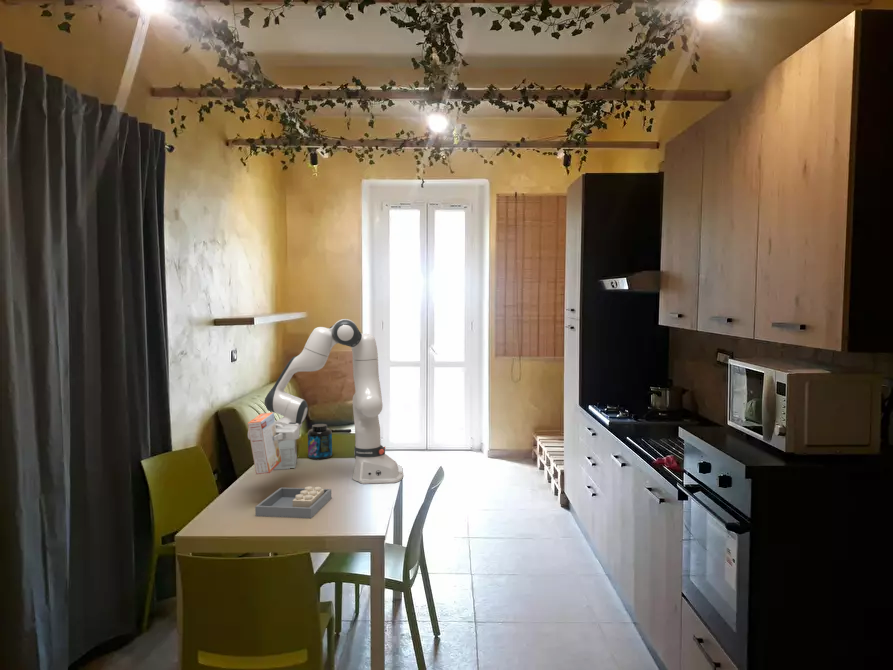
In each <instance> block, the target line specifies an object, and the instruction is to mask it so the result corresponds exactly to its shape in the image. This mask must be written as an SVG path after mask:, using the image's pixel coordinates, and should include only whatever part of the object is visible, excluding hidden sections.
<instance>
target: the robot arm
mask: <svg viewBox="0 0 893 670" xmlns="http://www.w3.org/2000/svg"><path fill="white" fill-rule="evenodd" d="M337 344H339V345H342V346H347V347H350V348H351V352H352V370H353V371H352V373H353V374H352V375H353V381H354V382H353V383H354V389H355V392H354V394H353V396H352V412H353V413H352V414H353V421H354V434H355V435H354V436H355V437H354V438H355V440H354V442H355V446H354V450H353V451H354V452H353V453H354V454H353V455H354V468H353V469H354V471H353V474H352V480H353V481H356V482H359V484H363V485H364V484H365V485H366V484H393V483H394V484H395V483H398V482H400V481H401V480H403V478H404V476H405V475H404V472H402V471H400V470H399V467H398V466H399V465H398V463H397V461H396V460H395V459H393V458H392V457H390V456H389V455H387V454H386V446H383V445H381V443H382V442H381V425H380V420H379V415H380V414H381V412H382V410H383V399H382V389H381V381H380V375H379V374H380V373H379V356H378V355H379V354H378V347H377V341H376V338H375V337H374V335H372V334H369V333H361V331H360V330H359V328H358V326H357V324H356V323H355V322H354V321H353V320H351V319H348V318H344V319H343V318H342V319H339V320H337V321H336V322H335V323H334V324H333V325H331V326H330V327H329V328H328V327H325V326H318V327H315V328H314V329H313V330H312V332H311V333H310V335H309V336H308V338H307V341H306V342H305V344H304V347H303V349H302V351H301V352H300V353H299V354H298V355H297V356H296V355H295V356H292V358H291V359H290V360H289V361H288V362H287V364H286V366H285V367H284V369H283V370H282V372H281V373H280V375H279V376H278V378H277V380H276V381H275V383H274V385H273V386H272V387H271V388H270V390H269V391H268V393H267V395H266V396H265V398H264V402H263V403H264V407H265V408H266V410H267V411H268V412H270V413H274V414H278V415H280V416H282V417H281V418H278V419H277V420H275V424H276V430H277V431H276V433H277V435H274V436H272V439H273V441H276V440H278V442H281V441H285V440H296V441H297V440H298V439H300V429H301V428H302V425H303V423H304V422H305V420H306V418H307V416H308V411H309V406H308V403H307V401H306V399H303V398H300V397H299V396H296V395H292V394H291V393H288V392H286V391H285V389H286V387H287V385H288V384H289V383H290V381H291V379H292V378H293V376H294V374H296V373H299V372H318V371H319V370H321V369H323V368H324V367H325V365H326V363H327V361H328V359H329V356H330V354H331V351H332V350H333V349H332V348H333V347H334V346H335V345H337ZM247 439H248V440H250V435H249V430H248V431H247Z"/></svg>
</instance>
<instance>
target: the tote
mask: <svg viewBox="0 0 893 670" xmlns="http://www.w3.org/2000/svg"><path fill="white" fill-rule="evenodd" d="M323 489H324V494H323V495H322V496H321V497H320V498H319V499H318V500H317V501H316V502H315V503H314V504H312V505H311V506H310V507H309V508H307V507H293V500H294V499H295V498H296V495H298V494H300V491H302V490H305V487H304V488H303V487H279V488H278V489H277V490H275V491H274V492H272V493H271V494H270V495H268V496H267V497H266V498H265V499H263V500H262V501H260V502H259V503H258V504H257V505H255V507H254V509H255V510H254V511H255V517H265V518H266V517H268V518H288V519H289V518H292V519H293V518H294V519H313V517H314V516H315V515H316V514H318V512H319V511H320V510H321V509H322V508H323V507H325V505H326V504H327V503H328V502H329V501H330V500H331V499H332V489H331V488H323Z"/></svg>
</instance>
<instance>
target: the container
mask: <svg viewBox="0 0 893 670" xmlns="http://www.w3.org/2000/svg"><path fill="white" fill-rule="evenodd" d="M332 435H333V432H332V430H331V429H330V428H328V424H326V423H315V424H312V425H311V429H309V430H308V432H307V456H308V458H309V459H311V460H317V459H319V460H325V459H326V460H327V459H329V458H331V457H332V456H333V436H332Z"/></svg>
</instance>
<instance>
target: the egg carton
mask: <svg viewBox="0 0 893 670" xmlns="http://www.w3.org/2000/svg"><path fill="white" fill-rule="evenodd" d="M304 488H305V490H302V491H300V494H298V495H296V498H295V499H294V500H293V507H307V508H309V507H310V506H311V505H312V504H314V503H315V502H316V501H317V500H318V499H319V498H320V497H321V496H322V495H323V494H324V489H325V488H322V487H321V486H315V487H313V486H311V485H309V486H305V487H304Z"/></svg>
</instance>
